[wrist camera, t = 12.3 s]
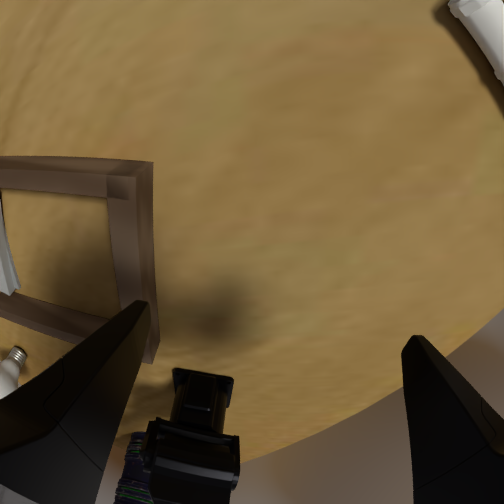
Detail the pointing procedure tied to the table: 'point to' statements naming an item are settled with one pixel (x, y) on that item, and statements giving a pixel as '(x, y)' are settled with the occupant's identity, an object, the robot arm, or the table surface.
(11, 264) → the offcut bottom
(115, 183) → the frame
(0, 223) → the offcut top
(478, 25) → the knuckle duster
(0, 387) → the lightbulb
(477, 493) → the robot arm
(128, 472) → the dark blue cylinder
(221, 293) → the table surface
